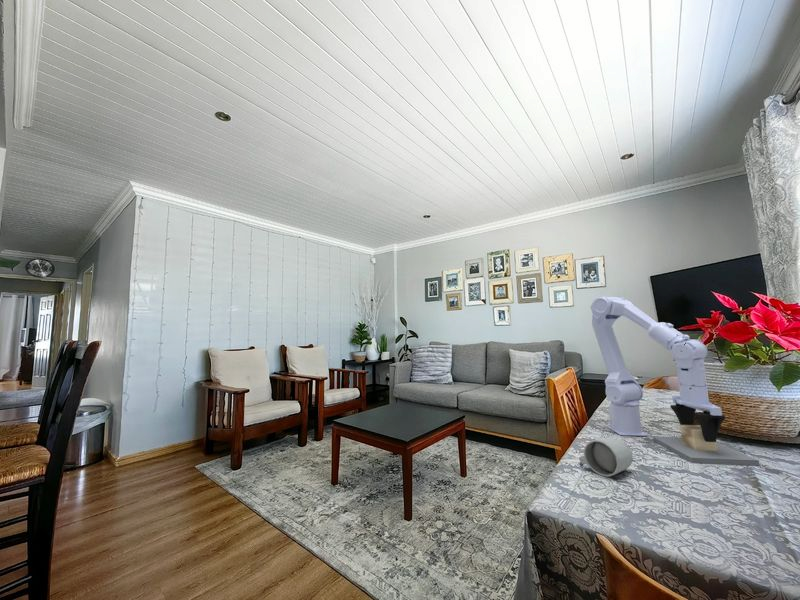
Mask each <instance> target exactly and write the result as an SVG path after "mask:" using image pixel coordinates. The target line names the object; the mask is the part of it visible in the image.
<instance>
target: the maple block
mask: <svg viewBox="0 0 800 600" xmlns="http://www.w3.org/2000/svg"><path fill="white" fill-rule="evenodd" d="M679 427H680V428H679V429H680V436H681V437H680V438H682V444H684V445H686V446H688V447H690V448H692V449H694V450H701V451H718V449H717V443H718V442H717V440H716V442H706V441H705V440H704V437H703V433H702V429H701V426H700V424H694V425H680V424H679Z"/></svg>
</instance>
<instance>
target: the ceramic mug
mask: <svg viewBox="0 0 800 600" xmlns="http://www.w3.org/2000/svg"><path fill="white" fill-rule="evenodd" d="M578 460H579V462H580V463H581V464H582V465H585V464H587V465H588V467H589V468H590V469H591V470H592V471H593V472H594V473H596V474H597V475H599V476H601V477H605V478H607V477H609V478H610V477H613V476H615V475H617V474H619V473H621V472H623V471H626V470H627V469H628V468H629V467H630V466H631V465H632V464H633V460H634V457H633V453H632V450H631V447H629V446H628V445H627V443H625V441H623V440H621V439H618V438H616V437H610V436H608V437H603V438H598V439H592V440H590V441H588V442H587V443H586V444H585V446H584V449H583V455H582V456H578Z"/></svg>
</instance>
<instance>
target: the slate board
mask: <svg viewBox="0 0 800 600" xmlns="http://www.w3.org/2000/svg"><path fill="white" fill-rule="evenodd" d="M652 440H653V442H655V443H656V444H658V445H660V446H661V447H663V448H664V449H667V450H669V451H670V452H672V453H674V454H676V455H678V456H679V457H681V458H683V459H684V460H686V461H687V462H690V464H691V463H692V464H707V465H708V464H710V465H712V464H713V465H731V466H732V465H733V466H734V465H737V466H757V465H760V460H759V459H757V458H754V457H752V456H749V455H748V454H746V453H743V452H740V451H738V450H736V449H733V448H732V447H729V446H727V445H724V444H723V443H722V444H721V443H719V442H717V449H718V451H701V450H694V449H692V448H690V447H688V446H686V445H684V444H682V438H681V437H677V436H676V437H675V436H673V437H671V436H670V437H668V436H666V437H665V436H652Z"/></svg>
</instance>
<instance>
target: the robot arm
mask: <svg viewBox="0 0 800 600" xmlns="http://www.w3.org/2000/svg"><path fill="white" fill-rule="evenodd" d="M590 310H591V313H592V315H591V317H592V319H591V325H592V329H593V332H594V334H595V338H596V340H597V344H598V347H599V351H600V352H601V356H602V359H603V362H604V365H605V367H606V371H607V374H608V375H607V376H606V378H605V380H604V384H605V395H606V397H607V399H608V400H609V402H610V403H609V405H608V418H609V425H608V424H607V425H606V427H607V428H609V429H610V430H611V431H613V432H614V433H616V434H617V435H620V436H633V437H634V436H635V437H637V436H639V437H649V433H646V432H644V431H643V430H642V422H641V419H642V418H641V410H640V404H641V402H640V401H641V400H642V399H643V396H644V390H643V388H642V387H641V385H640V384H639V382H637V380H636V377H635V376H634V375H632V374H631V373H630V372H629V371H628V368H627V366H626V363H625V360H624V357H623V354H622V351H621V348H620V346H619V342H618V339H617V337H616V333H615V331H614V328H613V325H614V323H615V322H616V321H617V320H619V319H620V318H621V317H626V318H627V319H629V320H630V321H632V322H634V323H635V324H637V325H638V326H640V327H642V328H643V329H645V330H646V331H647V332H648V337H649V338H651V339H652V340H653V341H655V342H656V343H658V344H659V345H661V346H662V347H664V348H665V349H666V350H668V351H669V354H670V356H671V357H672V359H673V360H674V361H675V365H676V371H677V380H678V391H679V395H672V403H673V404H671V405H670V408H671V410H672V411H673V412H674V415H675V416H676V417H677V419H678V421H679V426H680V425H695V417H696V419H697V420H698V422H699V425H700V426H701V429H702V433H703V437H704V440H705V441H706V442H716V441H717V438H718V433H719V429H720V428H721V426H722V424H723V422H724V421H725V419H726V416H725V415H724V414H723V412H722V411H723V410H722V407H720V406H717V405H715V404H713V403H711V402H710V398H709V390H708V382H707V373H706V367H705V358H706V357H707V356H708V352H709V351H708V348H707V346H706V345H705V344H704V343H703V342H702V341H701V340H700V339H694V338H693V339H690V338H691V337H690V335H688V334H683V333H682V332H681V331H680V330H679V331H678V329H676V328H674V324H672V323H670V322H664V321H663V322H662V321H661V322H657V321H656V320H654V319H653V318H652V317H650V316H649V315H648V314H646V313H645V312H643V311H642V310H641V309H640V308H638V307H637V306H635V305H634V304H633V303H632V302H631V301H630V300H627V299H626V298H625V297H622V296H603V295H602V296H597V297H596V298H595V299H594V300H593V301H592V304H590ZM685 343H686V344H685ZM684 344H685V345H684ZM696 411H701V412H696Z"/></svg>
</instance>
